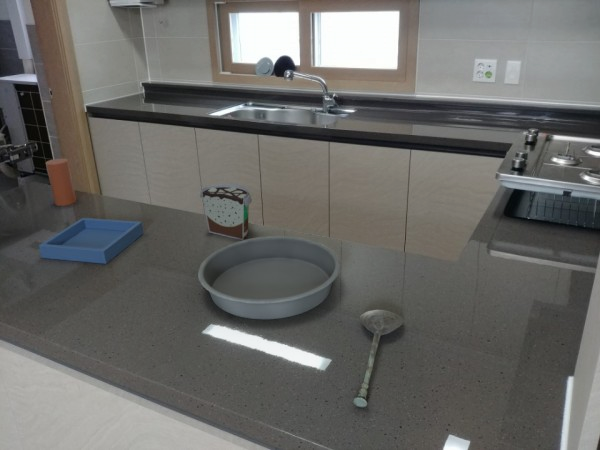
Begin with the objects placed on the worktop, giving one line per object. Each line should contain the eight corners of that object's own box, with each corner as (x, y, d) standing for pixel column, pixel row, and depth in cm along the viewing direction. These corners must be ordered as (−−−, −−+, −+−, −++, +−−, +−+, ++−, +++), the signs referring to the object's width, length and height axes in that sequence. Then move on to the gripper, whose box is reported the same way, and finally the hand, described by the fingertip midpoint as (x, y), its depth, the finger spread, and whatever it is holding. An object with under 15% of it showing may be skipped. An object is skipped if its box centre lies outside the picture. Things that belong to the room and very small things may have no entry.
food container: (265, 231, 117) (262, 187, 114) (249, 241, 113) (245, 197, 109) (221, 221, 123) (216, 180, 119) (203, 231, 119) (198, 188, 115)
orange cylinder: (50, 205, 137) (40, 163, 132) (63, 198, 141) (54, 158, 137) (68, 206, 136) (59, 164, 131) (80, 199, 140) (72, 158, 136)
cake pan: (287, 244, 111) (286, 224, 109) (369, 291, 92) (370, 268, 91) (177, 282, 98) (174, 260, 96) (247, 345, 79) (245, 319, 77)
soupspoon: (405, 320, 85) (364, 317, 87) (405, 301, 84) (364, 298, 86) (385, 413, 65) (333, 405, 67) (385, 390, 64) (332, 383, 66)
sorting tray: (41, 257, 109) (38, 245, 108) (85, 228, 122) (82, 217, 121) (106, 264, 105) (103, 251, 104) (143, 233, 118) (141, 221, 117)
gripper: (-13, 147, 104) (42, 129, 119) (-72, 146, 107) (-12, 128, 122) (-3, 184, 107) (50, 161, 122) (-61, 181, 110) (-3, 159, 125)
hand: (19, 144), depth 122 cm, fingers open, 8 cm apart
